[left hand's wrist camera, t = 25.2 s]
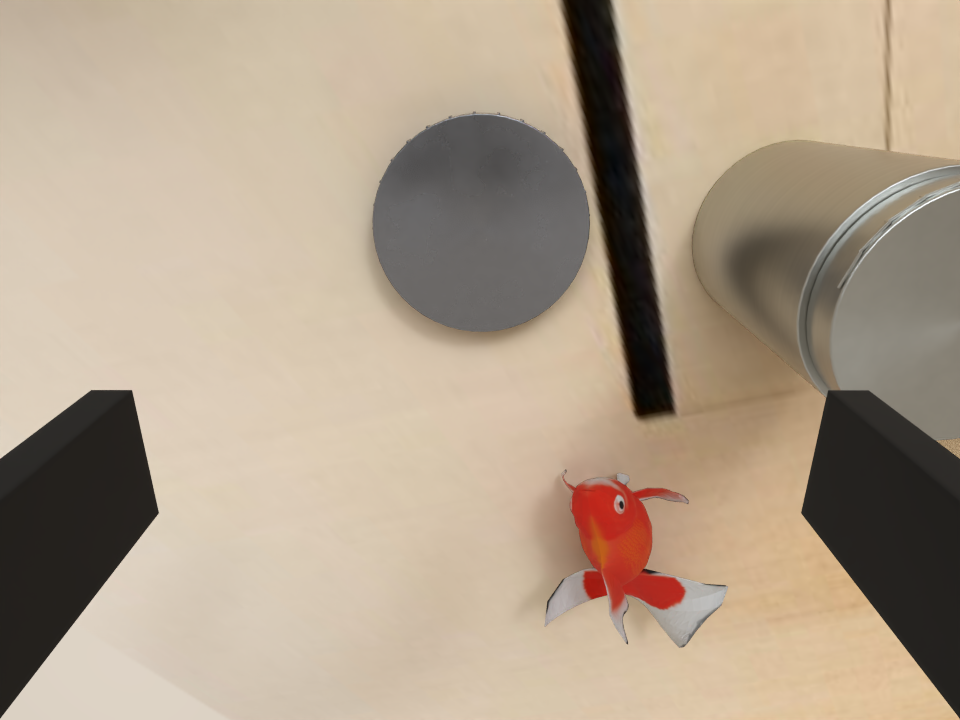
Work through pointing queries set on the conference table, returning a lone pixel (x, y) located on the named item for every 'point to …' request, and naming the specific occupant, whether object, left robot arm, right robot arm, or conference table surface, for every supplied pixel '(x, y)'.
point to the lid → (481, 222)
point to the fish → (629, 561)
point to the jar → (844, 269)
